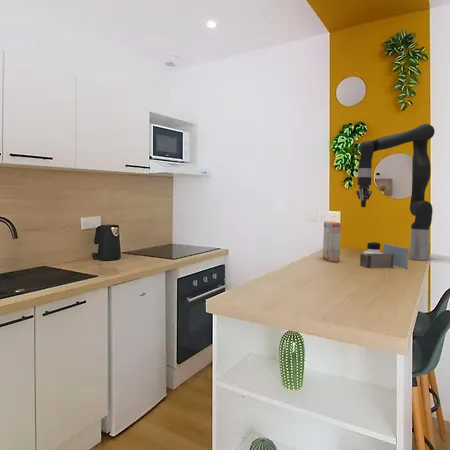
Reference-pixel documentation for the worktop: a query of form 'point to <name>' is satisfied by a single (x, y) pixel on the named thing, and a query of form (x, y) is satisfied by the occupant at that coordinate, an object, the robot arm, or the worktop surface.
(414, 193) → the robot arm
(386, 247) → the door board
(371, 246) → the medicine bottle
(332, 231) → the cracker box
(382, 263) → the keeper
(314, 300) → the worktop surface
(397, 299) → the worktop surface
